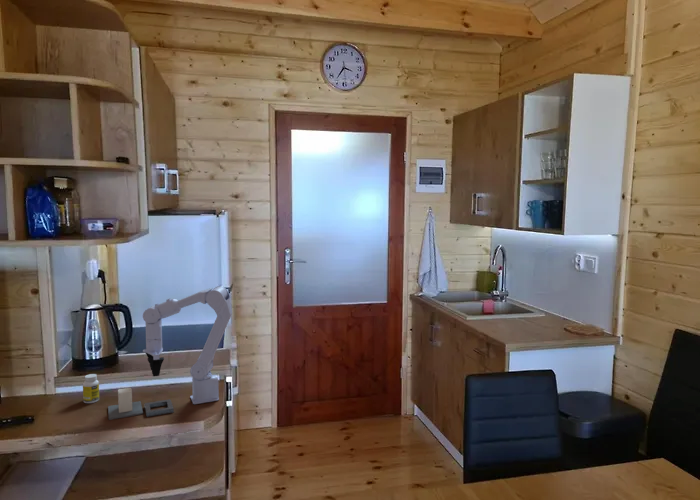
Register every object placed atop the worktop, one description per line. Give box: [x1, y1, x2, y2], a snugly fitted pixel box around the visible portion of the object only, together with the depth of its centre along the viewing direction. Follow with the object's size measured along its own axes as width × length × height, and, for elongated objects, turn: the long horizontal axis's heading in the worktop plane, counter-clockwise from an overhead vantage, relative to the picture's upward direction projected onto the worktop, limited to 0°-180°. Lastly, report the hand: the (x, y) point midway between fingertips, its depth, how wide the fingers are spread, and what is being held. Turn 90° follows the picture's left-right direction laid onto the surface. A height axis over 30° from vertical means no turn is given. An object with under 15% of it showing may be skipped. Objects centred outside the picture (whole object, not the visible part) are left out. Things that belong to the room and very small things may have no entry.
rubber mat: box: [107, 400, 144, 421], centre depth 179 cm, size 11×11×1 cm
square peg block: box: [117, 387, 133, 413], centre depth 178 cm, size 4×4×7 cm
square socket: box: [144, 398, 175, 418], centre depth 180 cm, size 9×9×2 cm
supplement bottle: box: [82, 373, 100, 404], centre depth 186 cm, size 5×5×10 cm
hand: (155, 372), depth 189 cm, fingers open, 7 cm apart
